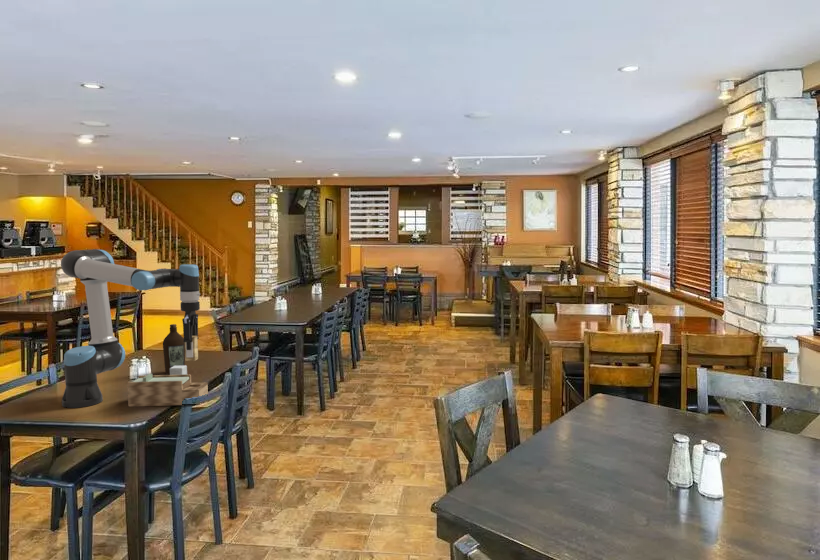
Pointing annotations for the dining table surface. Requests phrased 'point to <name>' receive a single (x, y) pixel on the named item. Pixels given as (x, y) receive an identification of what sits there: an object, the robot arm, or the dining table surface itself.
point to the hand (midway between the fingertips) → (191, 355)
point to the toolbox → (164, 391)
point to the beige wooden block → (195, 350)
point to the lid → (161, 379)
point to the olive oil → (173, 349)
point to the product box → (178, 370)
